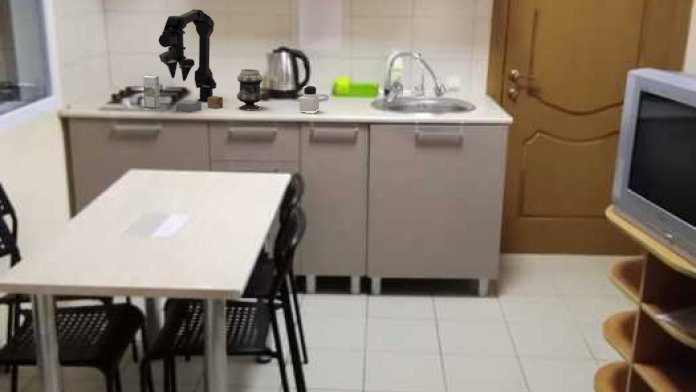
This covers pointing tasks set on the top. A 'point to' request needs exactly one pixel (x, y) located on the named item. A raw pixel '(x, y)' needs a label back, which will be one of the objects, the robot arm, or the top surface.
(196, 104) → the stoneware block
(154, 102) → the syrup box
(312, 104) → the medicine bottle
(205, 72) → the robot arm
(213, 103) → the walnut cube
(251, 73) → the apothecary jar
